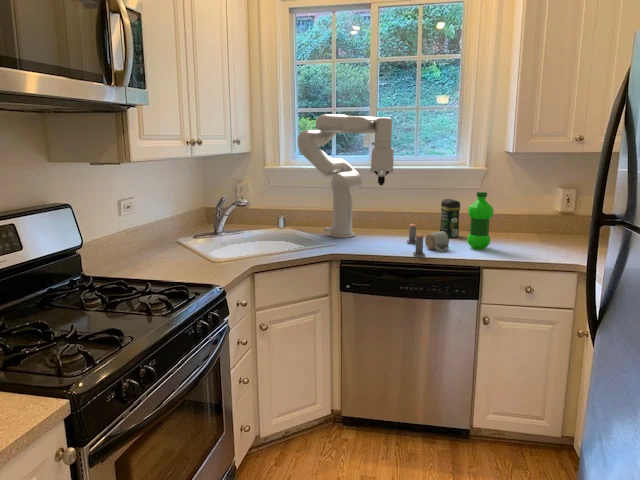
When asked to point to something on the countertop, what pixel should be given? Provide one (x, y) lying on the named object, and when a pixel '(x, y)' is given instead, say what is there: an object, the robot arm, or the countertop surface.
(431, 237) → the ceramic mug
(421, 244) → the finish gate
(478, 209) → the plastic bottle
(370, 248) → the countertop surface
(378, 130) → the robot arm
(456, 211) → the coffee jar
